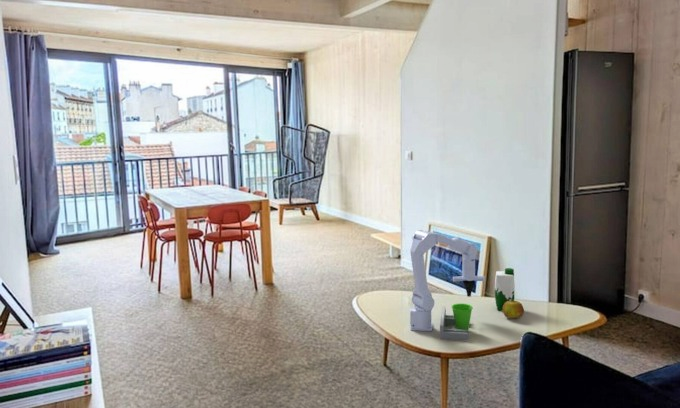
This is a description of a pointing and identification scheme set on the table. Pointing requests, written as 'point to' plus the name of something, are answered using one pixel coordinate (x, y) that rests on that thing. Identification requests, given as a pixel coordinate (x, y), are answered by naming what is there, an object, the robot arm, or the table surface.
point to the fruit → (513, 309)
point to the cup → (462, 315)
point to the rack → (451, 333)
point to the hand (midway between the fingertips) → (468, 295)
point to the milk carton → (504, 287)
